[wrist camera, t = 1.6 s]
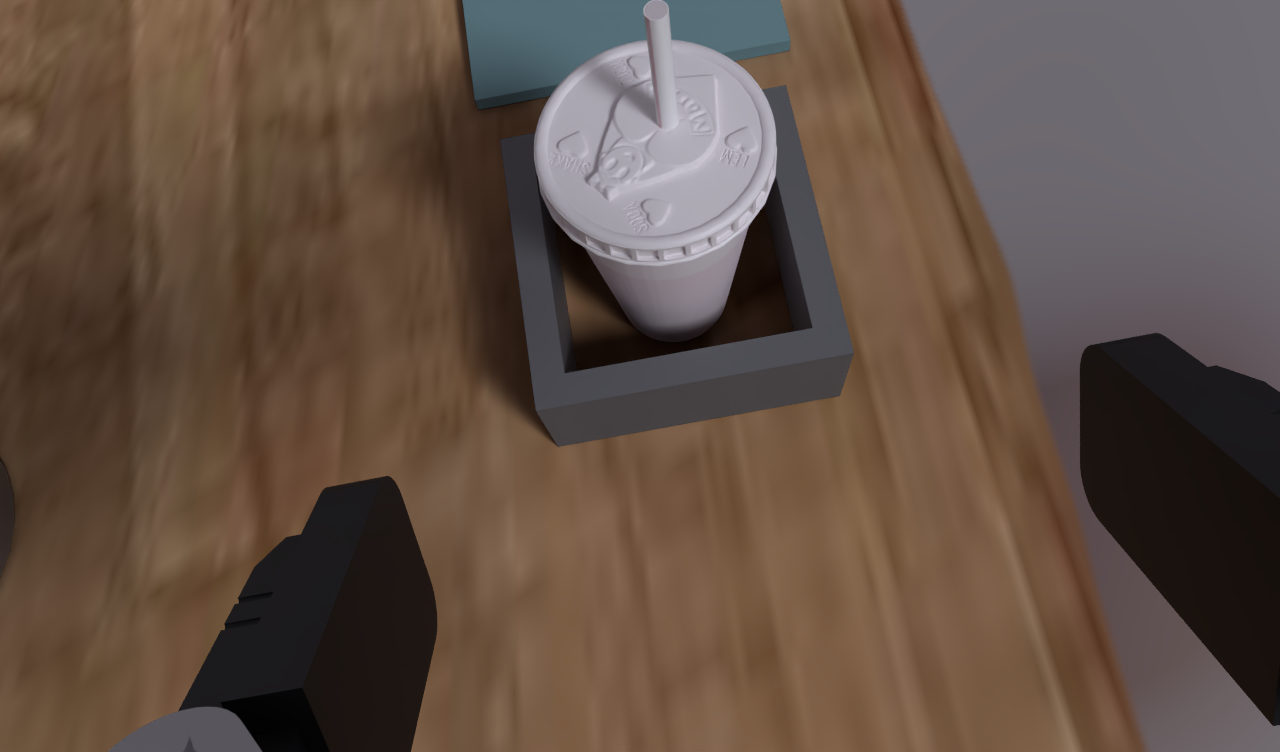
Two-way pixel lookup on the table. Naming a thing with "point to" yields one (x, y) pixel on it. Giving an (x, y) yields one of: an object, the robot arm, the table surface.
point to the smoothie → (659, 173)
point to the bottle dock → (695, 377)
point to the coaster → (598, 37)
